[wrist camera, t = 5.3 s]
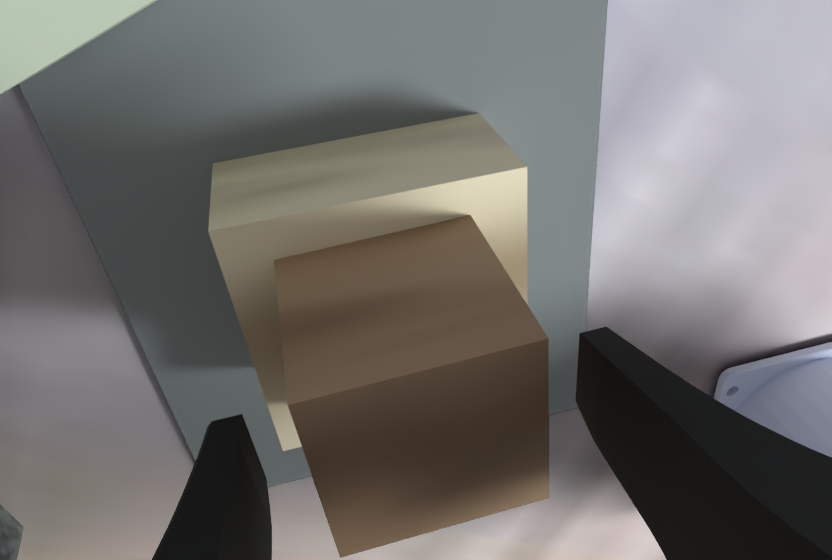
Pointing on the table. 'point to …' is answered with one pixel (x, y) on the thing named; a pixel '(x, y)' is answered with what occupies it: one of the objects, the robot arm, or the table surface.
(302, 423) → the walnut cube
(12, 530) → the mortar and pestle
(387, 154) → the beech block
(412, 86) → the slate mat
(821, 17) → the table surface
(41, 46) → the sage block
